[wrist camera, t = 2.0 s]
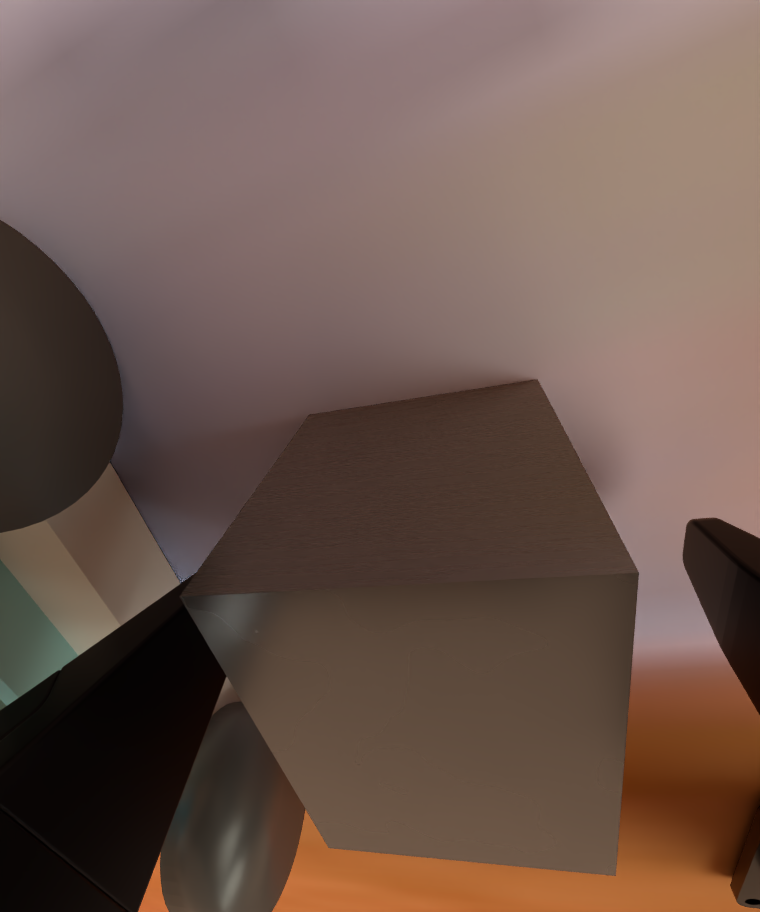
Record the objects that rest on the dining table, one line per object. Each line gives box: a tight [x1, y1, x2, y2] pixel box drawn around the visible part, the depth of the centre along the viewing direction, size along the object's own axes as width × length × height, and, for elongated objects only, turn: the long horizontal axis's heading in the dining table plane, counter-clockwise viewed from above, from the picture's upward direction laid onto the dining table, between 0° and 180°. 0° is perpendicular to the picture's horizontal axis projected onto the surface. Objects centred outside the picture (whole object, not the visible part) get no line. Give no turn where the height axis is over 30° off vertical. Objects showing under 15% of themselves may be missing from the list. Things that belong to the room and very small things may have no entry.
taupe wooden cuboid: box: [179, 380, 639, 876], centre depth 8 cm, size 6×4×5 cm
